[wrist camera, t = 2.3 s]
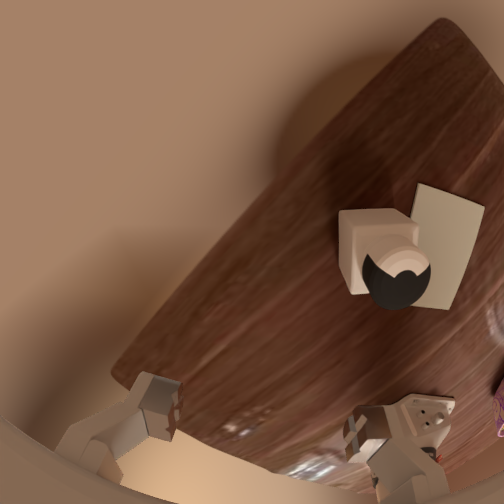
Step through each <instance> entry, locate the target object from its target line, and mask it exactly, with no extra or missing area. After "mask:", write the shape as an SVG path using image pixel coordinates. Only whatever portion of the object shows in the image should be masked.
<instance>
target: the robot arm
mask: <svg viewBox="0 0 504 504" xmlns="http://www.w3.org/2000/svg"><path fill="white" fill-rule="evenodd" d="M182 391H183V383H181V382H177V381H173V380H170V379H167V378H163V377H160V376H157V375H153V374H150V373H147V372H143V371H142V372H141V373H140V374H139V376H138V378H137V379H136V381H135V383H134V385H133V387H132V388H131V390H130V392H129V394H128V396H127V398H126V399H125V402H124V403H122V402H119V403H116V404H115V405H113V406H111V407H109V408H106V409H104V410H102V411H100V412H98V413H96V414H94V415H92V416H90V417H88V418H86V419H84V420H81V421H79V422H77V423H75V424H73V425H70V426H69V428H68V429H67V431H66V433H65V435H64V436H63V438H62V439H61V441H60V443H59V444H58V446H57V448H56V449H55V451H54V452H52V451H51V450H49V449H48V448H46V447H44V446H43V445H41V444H39V443H38V442H36V441H35V440H33V439H32V438H31V437H29V436H28V435H26V434H25V433H23V432H22V431H21V430H19V429H18V428H16V427H15V426H14V425H12V424H11V423H10V422H8V421H7V420H6V419H5V418H3V417H2V416H1V415H0V504H177V503H173V502H169V501H166V500H162V499H159V498H155V497H153V496H149V495H146V494H143V493H140V492H138V491H135V490H132V489H129V488H127V487H124V486H121V485H120V482H121V480H122V477H123V473H122V471H121V470H120V468H119V466H118V465H117V463H116V461H115V460H117V459H118V458H120V457H121V456H123V455H124V454H126V453H127V452H129V451H130V450H131V449H133V448H134V447H136V446H137V445H139V444H140V443H141V442H143V441H144V440H145V439H147V438H148V436H151V437H154V438H158V439H161V440H165V441H169V442H171V441H172V438H173V435H174V433H175V430H176V422H175V421H177V420H178V419H179V418H180V415H181V412H182V407H183V396H182V394H181V393H182ZM454 405H455V399H454V398H447V397H437V396H428V395H420V394H410V395H408V396H406V397H404V398H403V399H401V400H400V401H398V402H397V403H395V404H392V405H358V406H356V407H355V408H354V410H353V415H352V416H351V417H349V418H348V419H347V421H346V422H345V425H344V429H343V437H344V440H345V441H346V442H347V444H348V445H347V447H346V448H345V452H346V460H347V463H355V462H367V464H368V466H369V467H370V469H371V477H372V482H373V487H374V488H375V489H376V492H377V499H378V504H504V470H503V471H501V472H499V473H497V474H495V475H493V476H491V477H489V478H487V479H485V480H483V481H480V482H478V483H476V484H473V485H471V486H469V487H466V488H464V489H461V490H458V491H456V492H453V493H450V490H449V487H448V483H447V480H446V476H445V473H444V470H443V468H442V467H441V466H440V465H439V464H438V462H439V461H441V460H442V459H443V458H441V459H440V460H439V458H440V457H441V456H442V455H440V456H438V457H437V458H436V449H437V448H438V447H439V445H440V444H441V442H442V441H443V440H444V438H445V437H446V435H447V434H448V432H449V430H450V427H451V419H450V416H449V414H450V413H451V411H452V410H453V408H454Z"/></svg>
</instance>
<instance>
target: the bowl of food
mask: <svg viewBox="0 0 504 504" xmlns="http://www.w3.org/2000/svg"><path fill="white" fill-rule="evenodd" d="M493 412H494V418H495V423H496V428H497V434H498V436H499V437H503V436H504V378H503V380H502V381H501V383H500V386H499V388H498V389H497V391H496V393H495V396H494V399H493Z"/></svg>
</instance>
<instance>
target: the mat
mask: <svg viewBox="0 0 504 504" xmlns="http://www.w3.org/2000/svg"><path fill="white" fill-rule="evenodd" d="M484 208H485V207H484V206H481V205H479V204H476V203H474V202H471V201H469V200H466V199H463V198H461V197H458V196H455V195H453V194H450V193H447V192H444V191H441V190H438V189H435V188H432V187H429V186H426V185H423V184H420V183H418V185H417V189H416V194H415V198H414V202H413V206H412V210H411V214H410V219H412V220H413V221H415V222H416V223H418V225H419V236H418V248H419V249H420V250H421V251H423V252H424V253H425V254H426V256H427V257H428V259H429V262H430V265H431V277H430V281H429V284H428V286H427V289H426V290H425V292H424V294H423V295H422V296H421V297H420V298H419V299H418V300H417V301H416V302H415V303H413V304H412V305H411V306H419V307H428V308H436V309H445V310H449V308H450V306H451V304H452V301H453V299H454V297H455V295H456V292H457V290H458V287H459V285H460V282H461V280H462V277H463V275H464V272H465V270H466V267H467V264H468V261H469V259H470V256H471V253H472V250H473V247H474V244H475V240H476V237H477V234H478V231H479V227H480V224H481V220H482V216H483V212H484Z"/></svg>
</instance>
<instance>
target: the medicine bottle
mask: <svg viewBox="0 0 504 504" xmlns="http://www.w3.org/2000/svg"><path fill="white" fill-rule="evenodd" d="M418 236H419V225H418V223H416V222H415V221H413V220H412V219H410V218H408V217H407V216H405V215H404V214H402V213H401V212H399V211H397V210H396V209H394V208H381V209H356V210H340V211H339V268H340V270H341V272H342V275H343V277H344V279H345V281H346V284H347V286H348V288H349V291H350V293H351V294H353V295H354V294H365V293H370V295H371V297H372V298H373V300H374V301H375V303H376V304H377V305H379V306H380V307H382V308H384V309H388V310H399V309H403V308H406V307H408V306H410V305H412V304H413V303H415V302H416V301H417V300H418V299H419V298H420V297H421V296H422V295H423V294H424V292H425V290H426V289H427V286H428V284H429V281H430V277H431V265H430V262H429V259H428V257H427V256H426V254H425V253H424V252H423V251H421V250H420V249H419V248H418Z"/></svg>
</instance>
